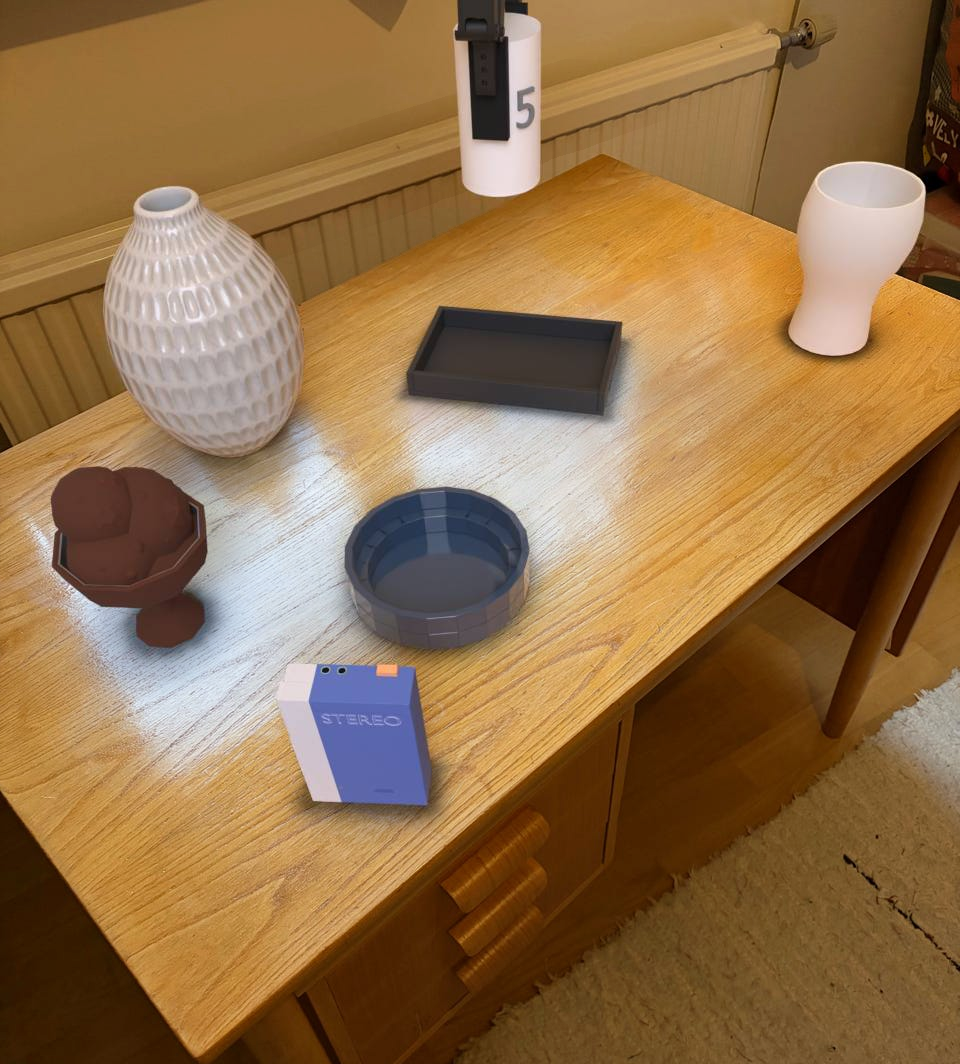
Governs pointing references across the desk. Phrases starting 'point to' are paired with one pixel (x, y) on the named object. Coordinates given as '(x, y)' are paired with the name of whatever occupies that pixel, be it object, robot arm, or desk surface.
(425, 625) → the bowl
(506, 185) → the candle
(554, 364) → the tray
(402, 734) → the walkman
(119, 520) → the ice cream bowl
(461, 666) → the desk surface
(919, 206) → the cup
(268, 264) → the vase
